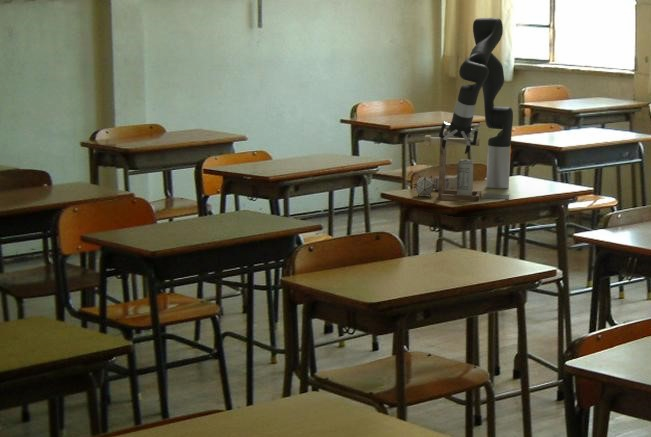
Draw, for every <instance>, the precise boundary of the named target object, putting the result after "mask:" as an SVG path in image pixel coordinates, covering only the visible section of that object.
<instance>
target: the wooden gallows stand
mask: <svg viewBox="0 0 651 437" xmlns="http://www.w3.org/2000/svg"><path fill="white" fill-rule="evenodd" d="M446 133H448V128H446V129H445V128H444V132H443V134H446ZM442 142H443V139H442V138H440V144H439V163H438V164H439V166H438V167H439V168H438V175H439V190H437V191H438V196H437V199H438V200H439V201H440V200H441V201H454V202H455V201H458V202H461V201H463V202H476V201H480V200H479V199H481V196H482V191H481V190H472V196H469V195H457V190H445V175H446V172H447V171H446V169H447V168H446V166H447V164H446V163H447V145H445V149H443V147H442Z"/></svg>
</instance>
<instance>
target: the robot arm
mask: <svg viewBox="0 0 651 437" xmlns="http://www.w3.org/2000/svg"><path fill="white" fill-rule="evenodd" d="M503 32H504V26H503V22H502V20H501V19H500V18H498V17H479V18H476V19H474V20H473V24H472V35H473V38H474V43H475V45H474V47H473V48H472V50H471V51H470V54H469V57H468V58H466V60H464V61H463V62H462V63H461V65H460V67H459V71H458V73H459V77H460V78H461V79H462V80H464V81H468V82H471V83H474V84H464V85H461V87H460V89H459V92H458V96H457V100H456V102H455V105H454V110H453V114H452V118H451V122H449V123H448V122H447V121H445V120H443V121H442V124H441V128H440V131H439V134H438V137H440V138H442V139H443V142H442V147H443V149H445V145H446V141H447V138H452V136H453V137H454V138H464V139H465V141H466V142H467V146H466V147H465V151H464V154H465V155H467V154H468V153H470V148H471V147H472V146H471V145H476V140H477V139H478V135H479V129H478V128H475V129H474V128H472V124H473V120H474V116H475V112H476V106H477V101H478V97H479V94H480V91H481V90H482V93H483V102H484V104H483V105H484V106H483V107H484V119H485V120H484V121H485V126H486V127H487V128H488V129H492V130H494V129H495V130H501V131H502V132H501V133H500V134H497V135H496V136H493V137H489V138H488V141H487V161H486V162H487V164H486V165H487V166H486V182H485V183H486V184H485V185H486V188H490V189H509V187H510V172H511V170H510V168H511V167H510V166H511V143H512V132H513V131H512V130H513V124H514V122H513V121H514V113H513V112H514V111H513V109H512V107H510V106H499V105H498V106H495V103H494V102H495V99H496V97H497V95H498V94H499V92H500V91H501V89H502V88H503V86H504V83H505V73H504V66H503V64H502V63H501V61H500V60H499V59H498V58H497V57H496V55H494V53H493V51H494V50H495V48H496V47H497V46H498V44H499V43H500V41H501V39H502V38H503V35H504V34H503ZM448 128H449V130H447V133H446V134H443V132H444V129H448ZM470 133H472V134H471V135H472V136H473V138H472V139H473V141H471V140H470V139H471V138H470V135H469V134H470ZM446 146H447V145H446Z"/></svg>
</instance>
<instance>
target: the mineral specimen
mask: <svg viewBox="0 0 651 437" xmlns="http://www.w3.org/2000/svg"><path fill="white" fill-rule="evenodd" d="M433 184H434V185H435V186H434V187H435V188H434V189H433V190H435V191H439V174H438V175H436V176H434V178H433ZM445 190H457V174H456V175H447V174H445Z"/></svg>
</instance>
